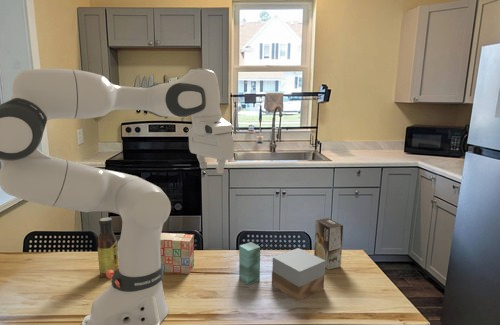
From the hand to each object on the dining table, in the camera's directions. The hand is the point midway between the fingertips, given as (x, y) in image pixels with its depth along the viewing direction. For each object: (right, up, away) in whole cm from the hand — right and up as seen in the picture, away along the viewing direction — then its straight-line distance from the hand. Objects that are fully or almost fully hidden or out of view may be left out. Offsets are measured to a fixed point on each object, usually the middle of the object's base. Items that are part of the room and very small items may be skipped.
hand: (211, 170), depth 103 cm
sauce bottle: (-37, -37, +15) cm, 54 cm away
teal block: (+11, -37, +12) cm, 41 cm away
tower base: (+27, -39, +8) cm, 48 cm away
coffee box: (+41, -36, +25) cm, 60 cm away
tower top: (+28, -34, +7) cm, 44 cm away
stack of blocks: (-20, -36, +20) cm, 46 cm away
